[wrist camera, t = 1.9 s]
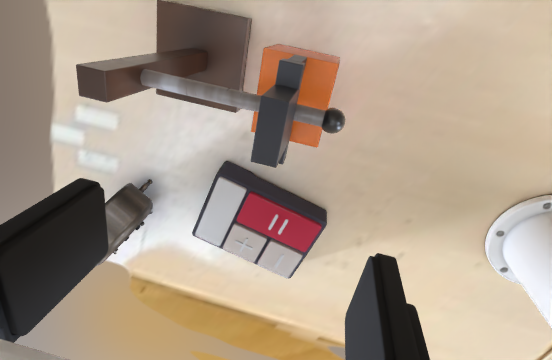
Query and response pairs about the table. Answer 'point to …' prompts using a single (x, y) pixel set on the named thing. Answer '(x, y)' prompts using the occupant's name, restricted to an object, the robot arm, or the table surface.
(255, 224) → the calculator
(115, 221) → the alarm clock
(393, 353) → the robot arm
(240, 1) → the table surface
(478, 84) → the table surface
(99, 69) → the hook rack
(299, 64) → the orange square box
